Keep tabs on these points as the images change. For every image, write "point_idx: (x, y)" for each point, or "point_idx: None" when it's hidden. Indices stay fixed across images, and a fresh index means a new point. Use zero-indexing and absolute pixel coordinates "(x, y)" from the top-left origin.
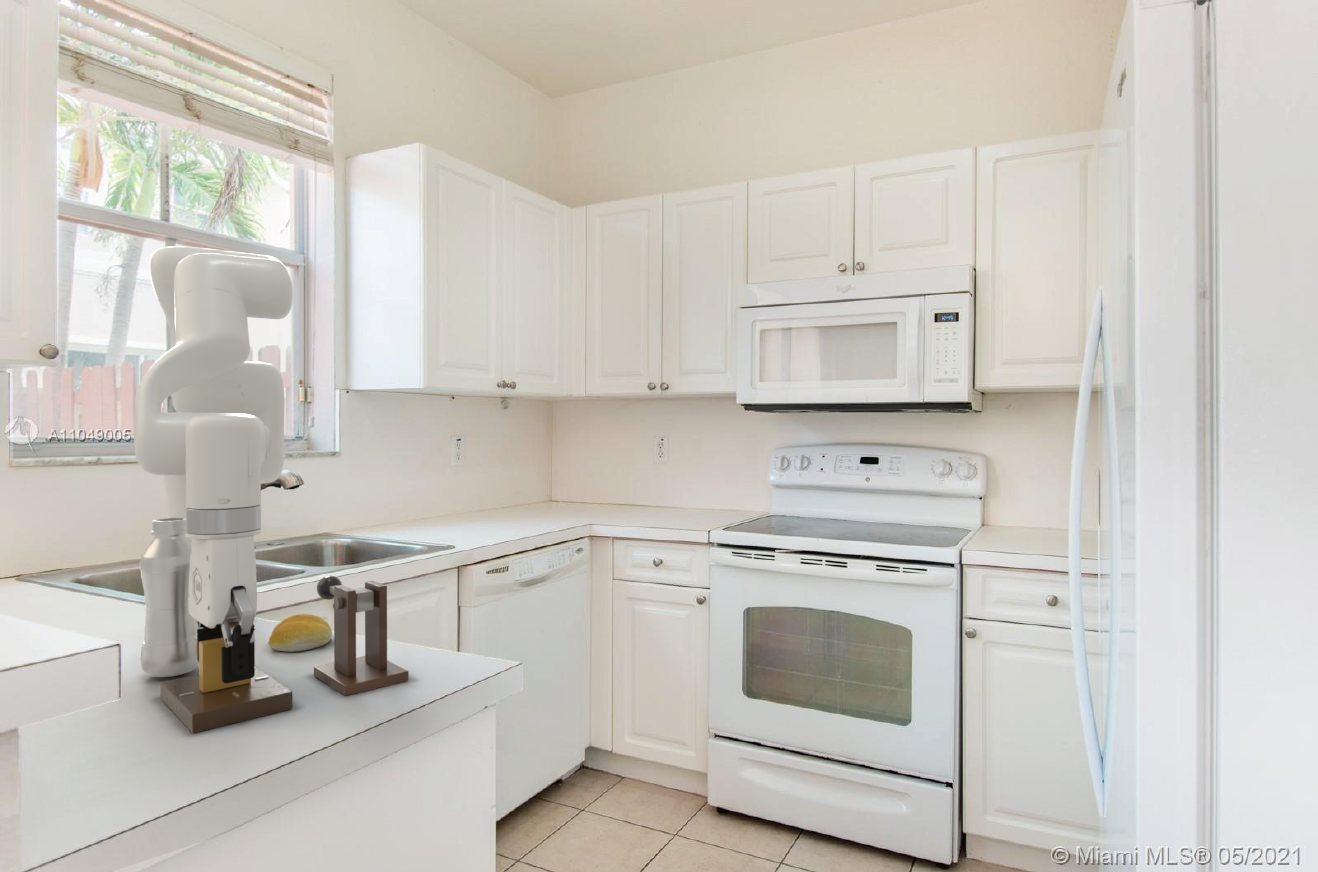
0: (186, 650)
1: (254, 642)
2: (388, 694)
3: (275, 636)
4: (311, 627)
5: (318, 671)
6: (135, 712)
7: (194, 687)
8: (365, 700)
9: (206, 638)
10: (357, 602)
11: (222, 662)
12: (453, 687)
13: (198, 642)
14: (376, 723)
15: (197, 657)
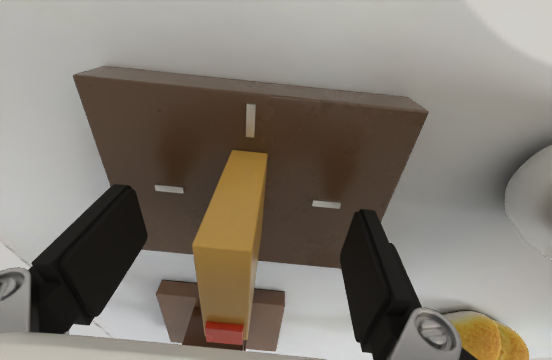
0: (543, 229)
1: (75, 322)
2: (136, 302)
3: (475, 336)
4: None
5: (263, 300)
6: (366, 11)
7: (297, 152)
8: (128, 284)
9: (368, 279)
10: None
11: (80, 221)
12: (120, 336)
13: (379, 254)
14: (25, 259)
15: (377, 216)
